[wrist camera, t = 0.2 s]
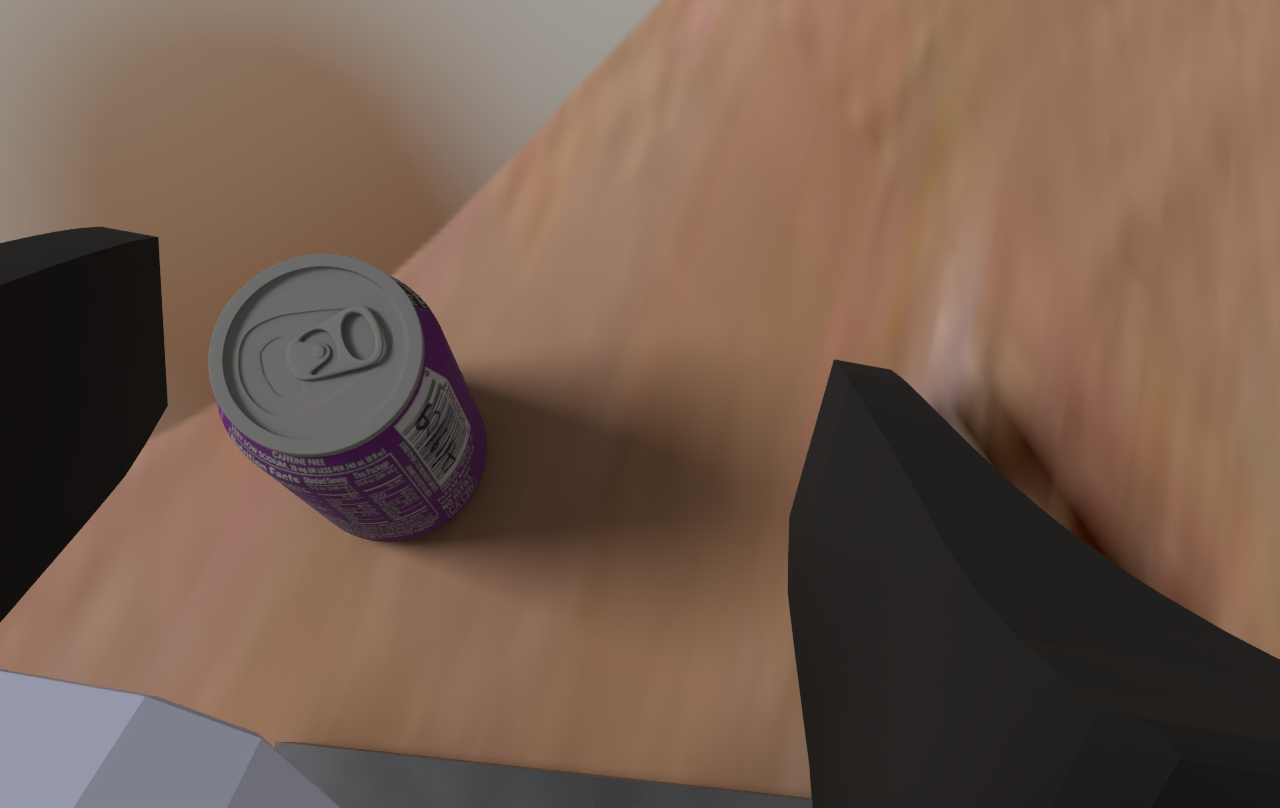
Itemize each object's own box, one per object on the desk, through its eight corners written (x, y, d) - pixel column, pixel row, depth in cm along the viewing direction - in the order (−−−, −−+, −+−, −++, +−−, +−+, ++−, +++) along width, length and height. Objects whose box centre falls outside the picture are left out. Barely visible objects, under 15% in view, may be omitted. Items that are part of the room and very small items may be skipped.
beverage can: (453, 344, 45) (393, 205, 33) (515, 504, 43) (473, 415, 31) (284, 407, 44) (162, 288, 32) (339, 573, 42) (230, 508, 30)
